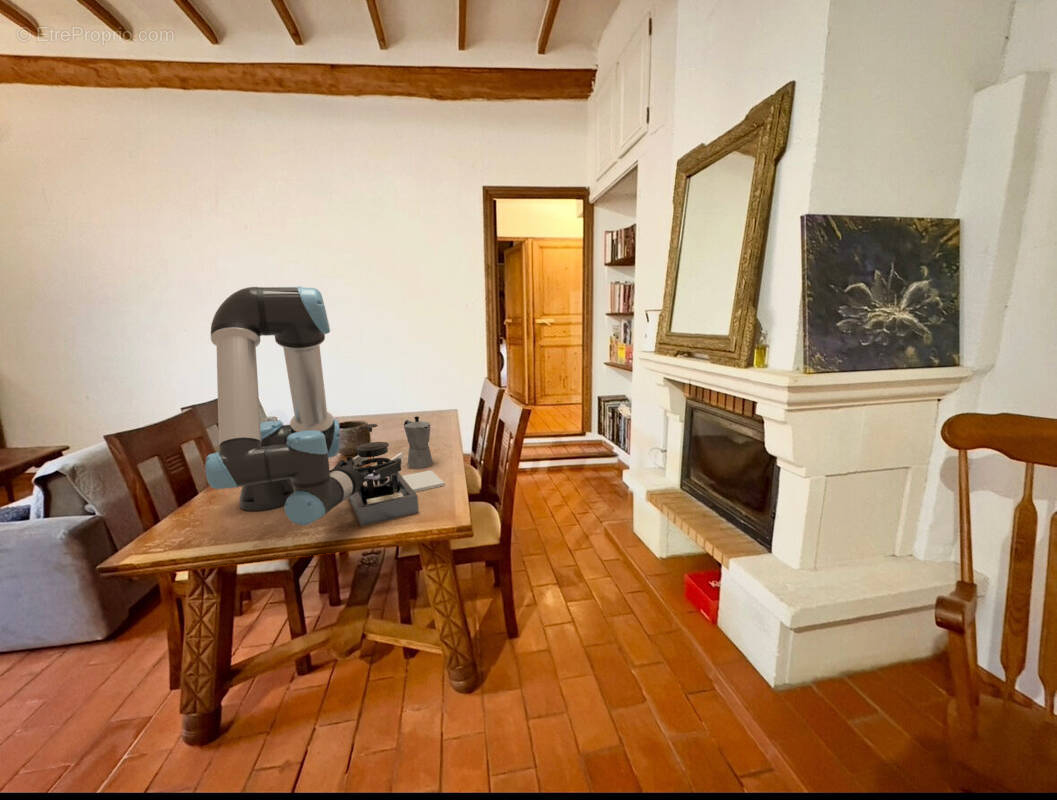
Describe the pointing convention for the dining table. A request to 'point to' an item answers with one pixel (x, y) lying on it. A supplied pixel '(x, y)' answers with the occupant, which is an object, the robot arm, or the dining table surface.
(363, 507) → the open box
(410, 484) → the mat
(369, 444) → the french press
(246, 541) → the dining table surface
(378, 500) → the offcut stack
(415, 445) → the coffeepot
